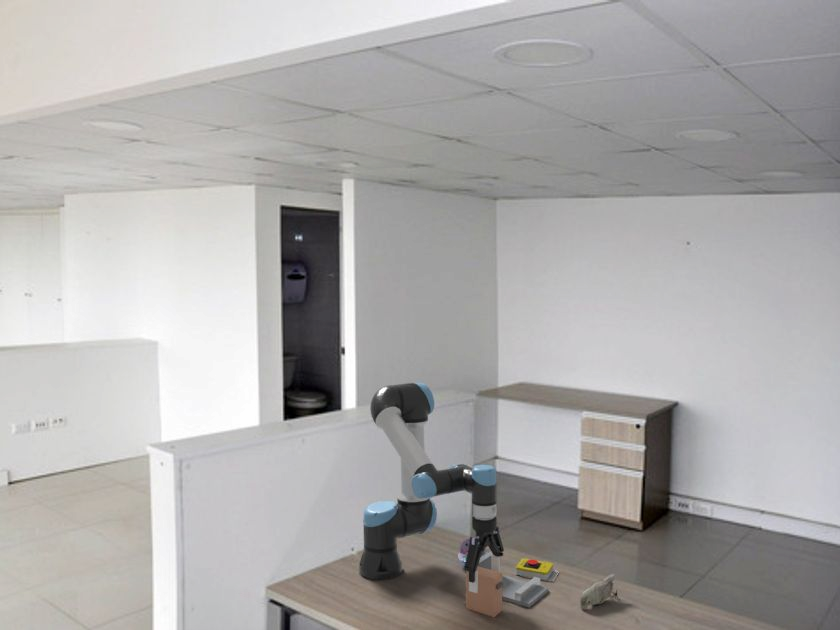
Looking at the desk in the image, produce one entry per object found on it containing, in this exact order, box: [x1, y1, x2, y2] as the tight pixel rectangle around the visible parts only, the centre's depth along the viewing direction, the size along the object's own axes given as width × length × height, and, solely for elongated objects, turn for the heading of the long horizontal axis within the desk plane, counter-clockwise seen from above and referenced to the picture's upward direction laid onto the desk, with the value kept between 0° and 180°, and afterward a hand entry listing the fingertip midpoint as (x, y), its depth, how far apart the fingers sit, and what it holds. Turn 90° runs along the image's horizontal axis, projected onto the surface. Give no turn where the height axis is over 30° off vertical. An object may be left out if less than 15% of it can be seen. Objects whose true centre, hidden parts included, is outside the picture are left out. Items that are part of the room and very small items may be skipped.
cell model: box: [457, 537, 488, 567], centre depth 259 cm, size 10×12×10 cm
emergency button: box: [515, 557, 560, 583], centre depth 254 cm, size 9×4×15 cm
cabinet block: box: [465, 566, 503, 618], centre depth 226 cm, size 11×5×12 cm, turn 55°
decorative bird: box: [579, 573, 619, 612], centre depth 231 cm, size 5×16×7 cm, turn 129°
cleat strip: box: [515, 577, 541, 601], centre depth 236 cm, size 2×14×2 cm, turn 145°
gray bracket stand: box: [478, 550, 549, 608], centre depth 239 cm, size 20×14×10 cm
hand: (484, 583), depth 226 cm, fingers open, 13 cm apart
